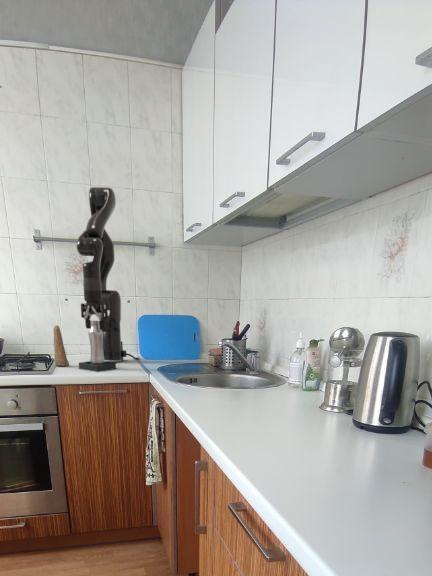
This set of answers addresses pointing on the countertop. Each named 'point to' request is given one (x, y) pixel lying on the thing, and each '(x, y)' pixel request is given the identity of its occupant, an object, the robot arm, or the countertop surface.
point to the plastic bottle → (96, 344)
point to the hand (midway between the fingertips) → (95, 329)
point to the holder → (97, 366)
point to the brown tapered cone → (59, 348)
